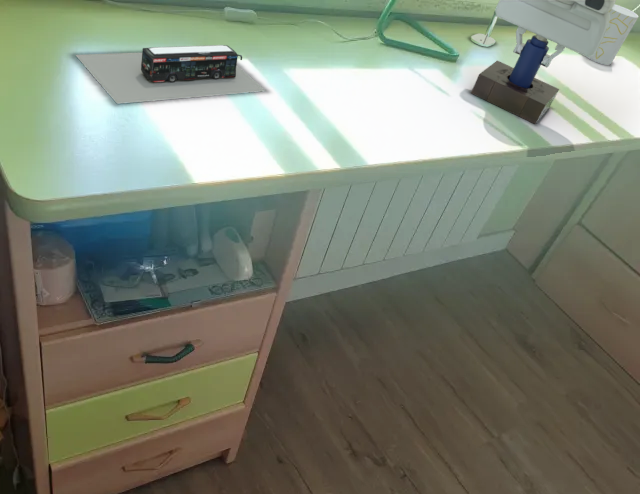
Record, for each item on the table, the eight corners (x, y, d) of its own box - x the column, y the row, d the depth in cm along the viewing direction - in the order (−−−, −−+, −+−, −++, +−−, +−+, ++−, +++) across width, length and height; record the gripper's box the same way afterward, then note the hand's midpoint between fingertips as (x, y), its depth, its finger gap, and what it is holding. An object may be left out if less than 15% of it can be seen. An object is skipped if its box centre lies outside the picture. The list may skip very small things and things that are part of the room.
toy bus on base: (265, 91, 98) (270, 65, 95) (117, 103, 84) (117, 74, 81) (220, 49, 105) (223, 24, 102) (75, 55, 91) (74, 26, 88)
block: (549, 107, 125) (559, 89, 122) (535, 124, 117) (545, 105, 114) (488, 78, 128) (497, 60, 125) (470, 93, 120) (479, 73, 117)
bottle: (528, 91, 122) (560, 28, 113) (523, 97, 119) (555, 32, 110) (509, 82, 123) (539, 18, 114) (502, 87, 120) (533, 22, 111)
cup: (577, 52, 159) (603, 4, 150) (588, 49, 164) (614, 2, 156) (604, 66, 156) (632, 18, 148) (615, 62, 161) (642, 16, 153)
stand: (467, 39, 143) (480, 34, 149) (485, 48, 142) (497, 42, 147) (481, 5, 138) (493, 1, 144) (500, 14, 137) (512, 10, 142)
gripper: (510, -39, 107) (477, 40, 117) (619, 8, 103) (575, 85, 112) (520, -42, 112) (487, 34, 121) (624, 2, 107) (582, 77, 117)
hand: (530, 59), depth 117 cm, fingers closed on bottle, 4 cm apart
